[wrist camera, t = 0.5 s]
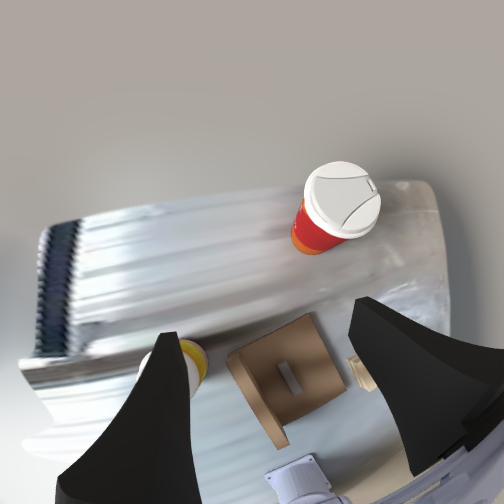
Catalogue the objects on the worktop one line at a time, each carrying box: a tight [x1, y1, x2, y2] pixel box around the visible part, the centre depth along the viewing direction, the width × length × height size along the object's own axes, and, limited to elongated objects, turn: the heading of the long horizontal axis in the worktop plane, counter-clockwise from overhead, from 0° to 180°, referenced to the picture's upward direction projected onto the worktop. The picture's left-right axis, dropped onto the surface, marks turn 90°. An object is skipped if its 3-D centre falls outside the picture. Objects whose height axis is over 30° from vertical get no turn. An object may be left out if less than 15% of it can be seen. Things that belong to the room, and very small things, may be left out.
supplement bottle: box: [136, 339, 208, 399], centre depth 28 cm, size 7×7×13 cm
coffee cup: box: [291, 161, 381, 255], centre depth 32 cm, size 8×8×15 cm
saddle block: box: [346, 353, 377, 392], centre depth 32 cm, size 5×8×7 cm, turn 117°
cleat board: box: [226, 314, 347, 450], centre depth 31 cm, size 13×12×7 cm
